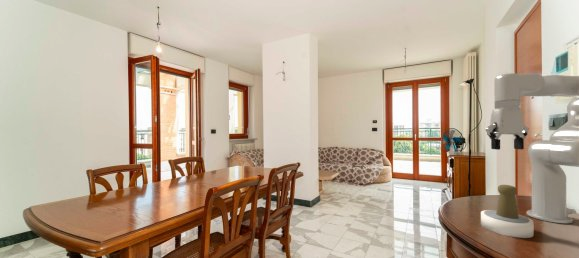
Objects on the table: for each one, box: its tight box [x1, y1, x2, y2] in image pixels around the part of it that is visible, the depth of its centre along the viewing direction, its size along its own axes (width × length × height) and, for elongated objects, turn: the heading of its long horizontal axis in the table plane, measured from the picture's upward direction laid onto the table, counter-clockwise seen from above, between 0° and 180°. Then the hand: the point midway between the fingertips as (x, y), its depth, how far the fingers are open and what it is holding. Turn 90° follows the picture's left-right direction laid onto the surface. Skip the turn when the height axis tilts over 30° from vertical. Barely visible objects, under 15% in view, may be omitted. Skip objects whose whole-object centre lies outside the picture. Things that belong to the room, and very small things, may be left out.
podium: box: [480, 209, 535, 239], centre depth 86 cm, size 14×14×5 cm
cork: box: [496, 184, 519, 219], centre depth 86 cm, size 6×6×11 cm
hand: (507, 149), depth 93 cm, fingers open, 9 cm apart
